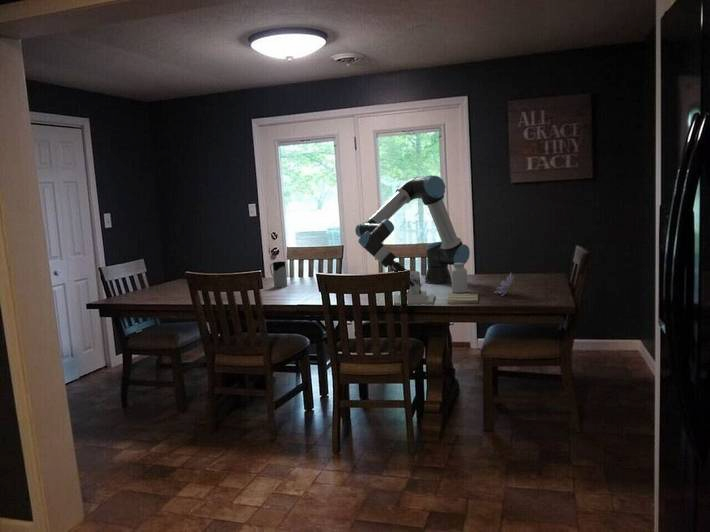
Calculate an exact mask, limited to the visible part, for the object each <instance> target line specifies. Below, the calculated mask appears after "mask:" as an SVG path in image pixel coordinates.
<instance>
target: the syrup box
mask: <svg viewBox="0 0 710 532" xmlns="http://www.w3.org/2000/svg"><path fill="white" fill-rule="evenodd" d="M409 272H410V279H412V280H413V281H414V282H415V283H416V284H417V285H418V286H419V287H420V283H421V274H420V273H421V272H420V271H418V270H412V271H409ZM421 291H422V290H421V289H420V290H419V291H418V292H416V291H415V290H414V289H413V288H412V287H411V286H410V290H408V292H407V295H412V294H421Z"/></svg>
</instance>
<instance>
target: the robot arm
mask: <svg viewBox="0 0 710 532" xmlns="http://www.w3.org/2000/svg"><path fill="white" fill-rule="evenodd" d="M445 193H446V185H445V181H444V180H443V178H441V177H440V176H438V175H431V174H430V175H425V176H415V177H414V176H413V177H411V178H410V179H408V180H407V181H405V182H404V183H402V184H401V185H400V186H399V187H398V188H397V189H396V190H395V192H394V194H393V195H392V196H391V197H390V198H389V199H388V200H387V201H386V202H385V203H384V204H383V205H382V206H381V207H380V208H378V209H377V210H376V211H375V212H374V213H373V214H372V215H371V216H370V217H369V218H368V219H367V220H366V221H364V222H361V223H358V224H357V225H356V226H355V228H354V229H355V234H356V237H358V244H360V246H361V247H362V249H365V251H367V252H368V253H369V254H370V255H371V256H372V257H374V260H375V261H378V262H380V264H381V265H382V266H383V267H384V268H387V267H390V270H391V271H393V272H394V273H395V272H398V271H404V270H407V269H406V268H405V267H404V266H403V265H402V264H401V263H400V262H399V261H396V260H395V259H396V258H397V257H396V255H395V254H394V253H393V252H390V251H391V250H390V249H389V248H388V247H387V246H385V245H384V244H383V242H384V241H386V240H387V239H388V237H389V236H391V234H392V233H393V232H394V231H395V225H394V224H393V222H392V221H391V220H390V219H391V218H392V217H393V216H394V215H395V214H396V213H397V212H398V211H399V210H400V209H401V208H402V207H403V206H404V205H406V204H409V203H410V202H412V200H415V199H421V201H422V203H423V205H424V206H427V208H428V210H429V211H428V212H429V213H430V215H431V218H432V221H433V223H434V226H435V229H436V231H437V234H438V236H439V238H440V241H436V242H430V243H427V245H426V262H427V263H426V264H427V270H426V273H425V279H424V283H426V282H429V283H428V284H431V283H440V284H446V283H445V282H448V283H451V282H452V275H451V272H450V270H449V265H450V266H454V263H464V265H465V264H466V263H467V262H468V261H469V259H470V253H471V251H470V248H469V245H467V244H463V241H462V239H461V238H460V237H459V236H457V234H456V231H455V228H454V226H453V222H452V221H451V218H450V216H449V213H448V210H447V208H446V205H445V203H444V197H445ZM450 281H451V282H450ZM410 286H411V287H412V288H413V289H414V290H415V291H416V292H418V291H419V290H420V289H421V287H422V286H423V284H422V283H421V282H420V287H419V286H418V285H417V284H416V283H415V282H414V281H413V280H412V279H410Z"/></svg>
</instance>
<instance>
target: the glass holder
mask: <svg viewBox="0 0 710 532" xmlns="http://www.w3.org/2000/svg"><path fill="white" fill-rule="evenodd" d="M269 269H270V270H269V271H270V274H271V276H272V278H273V288H274V287H285V288H287V287H286V286H288V287H289V285H288V279H287V267H286V261H275V262H274V261H273V262H272V263H270V265H269Z"/></svg>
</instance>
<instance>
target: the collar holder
mask: <svg viewBox="0 0 710 532" xmlns="http://www.w3.org/2000/svg"><path fill="white" fill-rule="evenodd" d="M434 298H436V294H435V293H434V294H433V293H432V294H431V293H429V294H427V290H421V294H412V295H407V300H408V305H407V306H414V305H413V304H434V302H433V301H435V299H434ZM393 299H394V306H395V305H396V306H401V305H400V294H395V295H394V297H393V298H392V300H393Z"/></svg>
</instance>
